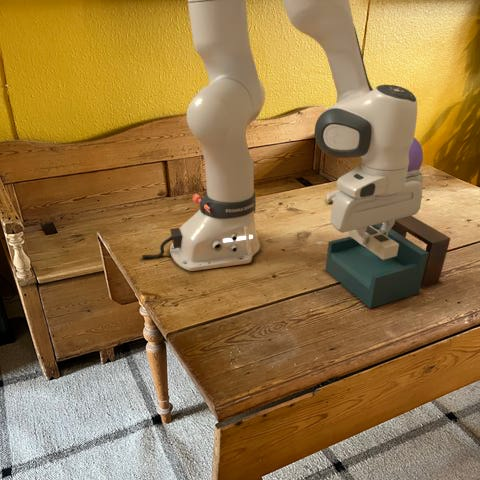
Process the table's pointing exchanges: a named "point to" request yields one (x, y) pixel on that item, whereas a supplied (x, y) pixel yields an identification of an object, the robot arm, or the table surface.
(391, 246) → the remote
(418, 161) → the decorative ball
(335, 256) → the teal armchair
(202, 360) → the table surface
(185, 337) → the table surface
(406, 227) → the brown wooden box
